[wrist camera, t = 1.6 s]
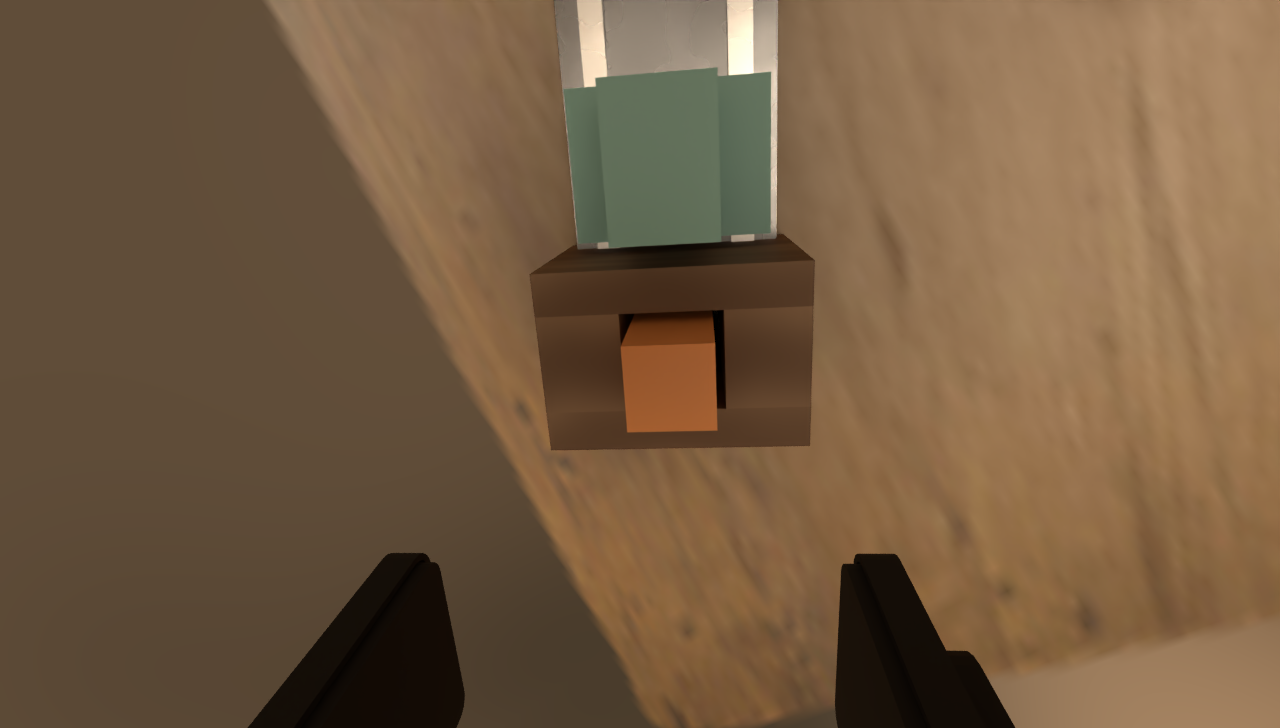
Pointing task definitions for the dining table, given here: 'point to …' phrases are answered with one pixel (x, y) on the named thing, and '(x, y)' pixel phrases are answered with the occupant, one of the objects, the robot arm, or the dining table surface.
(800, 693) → the dining table surface
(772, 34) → the rail track
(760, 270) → the cabinet
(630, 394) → the plunger
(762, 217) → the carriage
